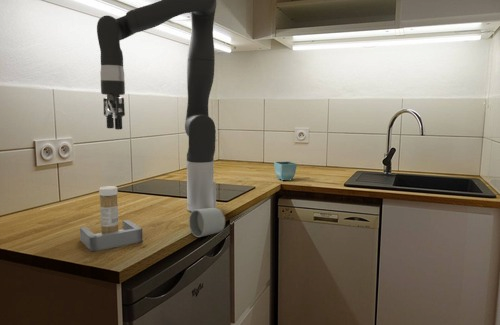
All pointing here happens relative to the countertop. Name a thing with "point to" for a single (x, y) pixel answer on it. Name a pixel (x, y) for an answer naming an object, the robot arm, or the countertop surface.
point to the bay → (111, 237)
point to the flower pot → (285, 170)
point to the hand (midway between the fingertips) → (114, 128)
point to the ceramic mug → (206, 221)
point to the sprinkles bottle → (108, 209)
